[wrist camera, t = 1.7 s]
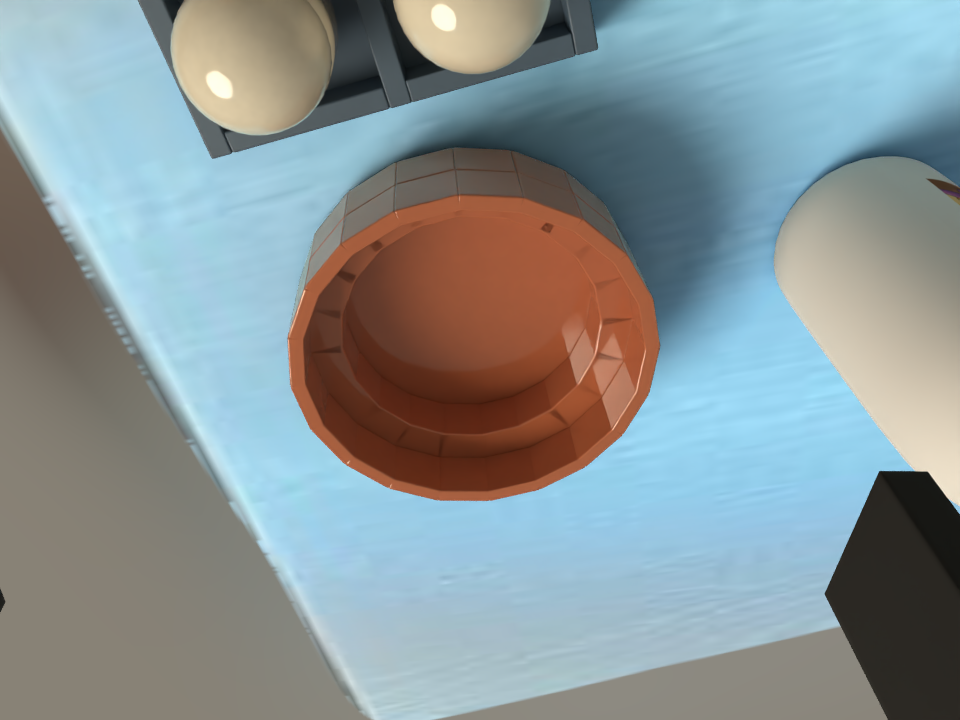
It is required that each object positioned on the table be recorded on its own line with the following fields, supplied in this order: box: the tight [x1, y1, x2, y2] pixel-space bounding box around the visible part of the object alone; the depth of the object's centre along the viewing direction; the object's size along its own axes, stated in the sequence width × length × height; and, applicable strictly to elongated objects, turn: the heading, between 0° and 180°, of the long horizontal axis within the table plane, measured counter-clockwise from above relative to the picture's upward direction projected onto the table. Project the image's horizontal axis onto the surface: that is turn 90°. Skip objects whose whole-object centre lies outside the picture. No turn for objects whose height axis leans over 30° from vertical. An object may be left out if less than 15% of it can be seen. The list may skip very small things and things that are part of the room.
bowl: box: [287, 147, 660, 501], centre depth 35 cm, size 14×14×5 cm
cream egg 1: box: [170, 0, 338, 135], centre depth 26 cm, size 5×5×8 cm
